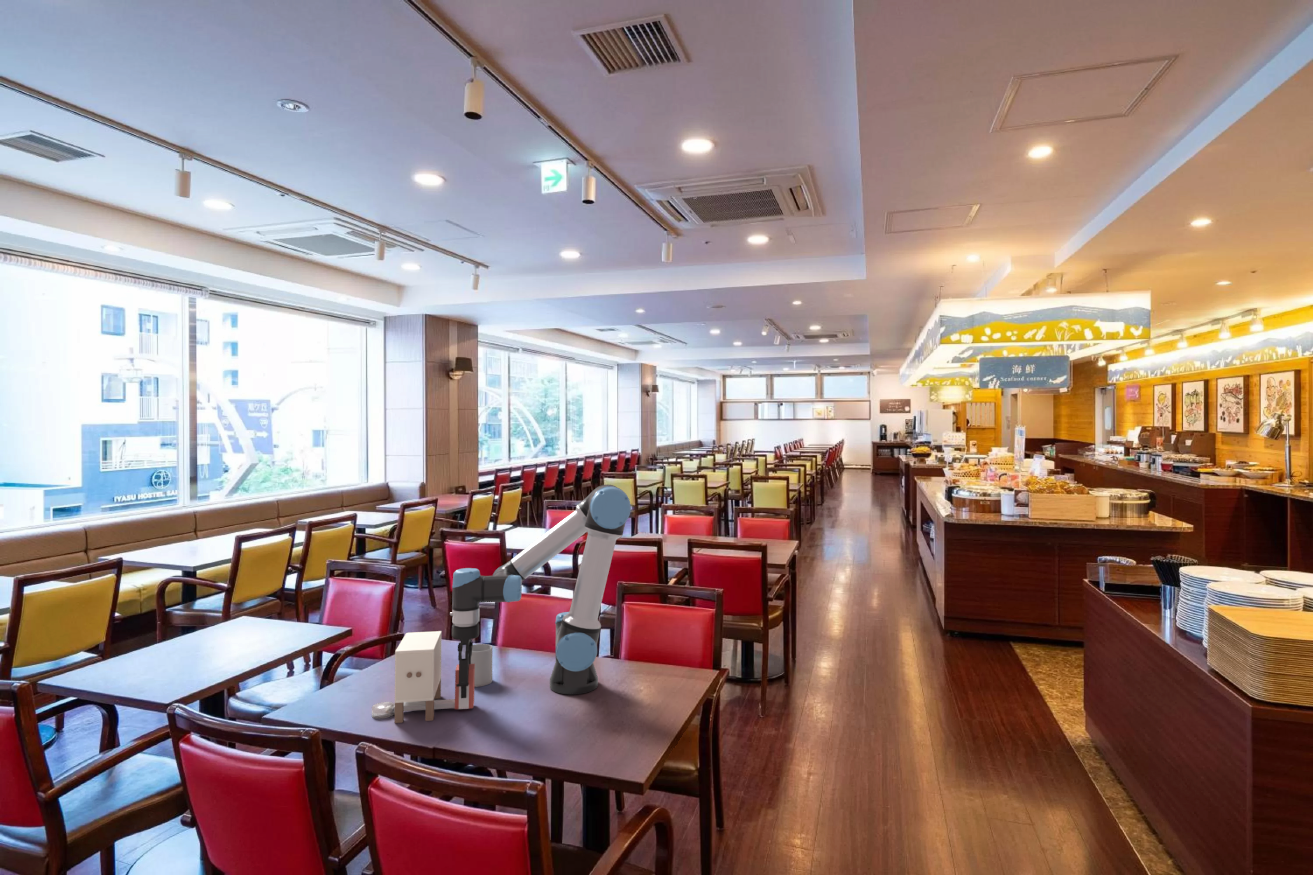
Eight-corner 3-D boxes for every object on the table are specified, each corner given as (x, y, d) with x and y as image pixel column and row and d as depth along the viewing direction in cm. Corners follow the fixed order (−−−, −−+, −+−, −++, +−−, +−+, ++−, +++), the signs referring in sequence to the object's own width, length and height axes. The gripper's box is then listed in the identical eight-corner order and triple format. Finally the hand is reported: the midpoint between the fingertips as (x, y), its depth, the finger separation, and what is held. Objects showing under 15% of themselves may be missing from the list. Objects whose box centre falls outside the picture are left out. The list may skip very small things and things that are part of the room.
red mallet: (474, 701, 194) (474, 663, 194) (473, 707, 189) (473, 669, 189) (396, 706, 190) (397, 667, 190) (393, 713, 185) (393, 673, 185)
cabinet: (440, 695, 200) (441, 630, 200) (432, 722, 181) (433, 650, 182) (405, 698, 198) (406, 632, 199) (393, 725, 179) (394, 652, 180)
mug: (497, 679, 214) (498, 645, 214) (480, 688, 206) (480, 653, 207) (468, 674, 219) (469, 640, 219) (450, 682, 212) (450, 647, 212)
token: (396, 709, 190) (396, 700, 190) (392, 717, 184) (392, 709, 184) (374, 711, 189) (374, 702, 189) (369, 719, 183) (369, 710, 183)
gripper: (455, 615, 199) (454, 693, 199) (448, 632, 182) (447, 717, 182) (481, 614, 201) (480, 691, 201) (477, 631, 183) (475, 716, 183)
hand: (464, 704), depth 191 cm, fingers closed on red mallet, 5 cm apart
